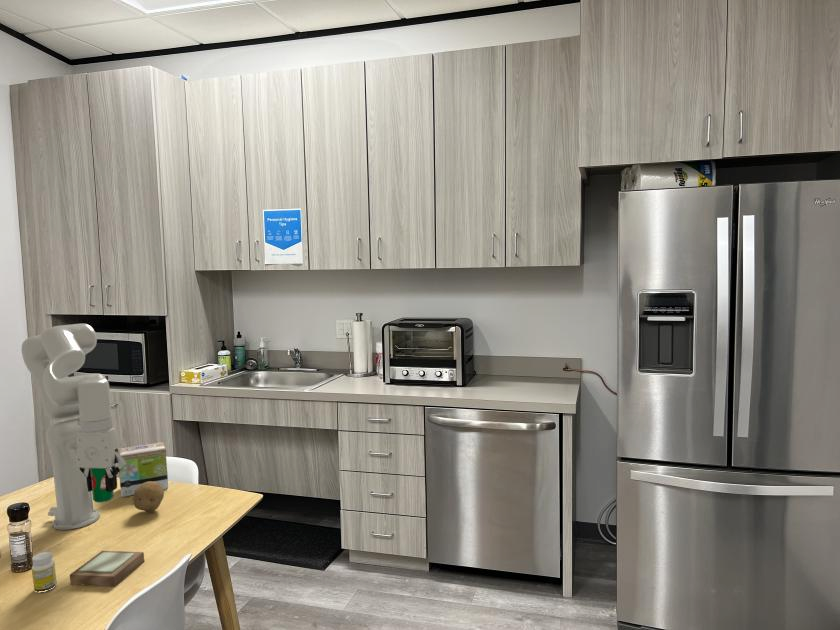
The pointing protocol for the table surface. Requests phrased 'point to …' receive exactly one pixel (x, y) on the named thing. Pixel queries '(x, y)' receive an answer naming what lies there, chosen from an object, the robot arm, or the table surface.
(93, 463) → the robot arm
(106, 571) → the walnut picture frame
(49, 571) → the supplement bottle
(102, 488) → the soda can
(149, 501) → the natural sponge
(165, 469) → the tea box
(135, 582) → the table surface
